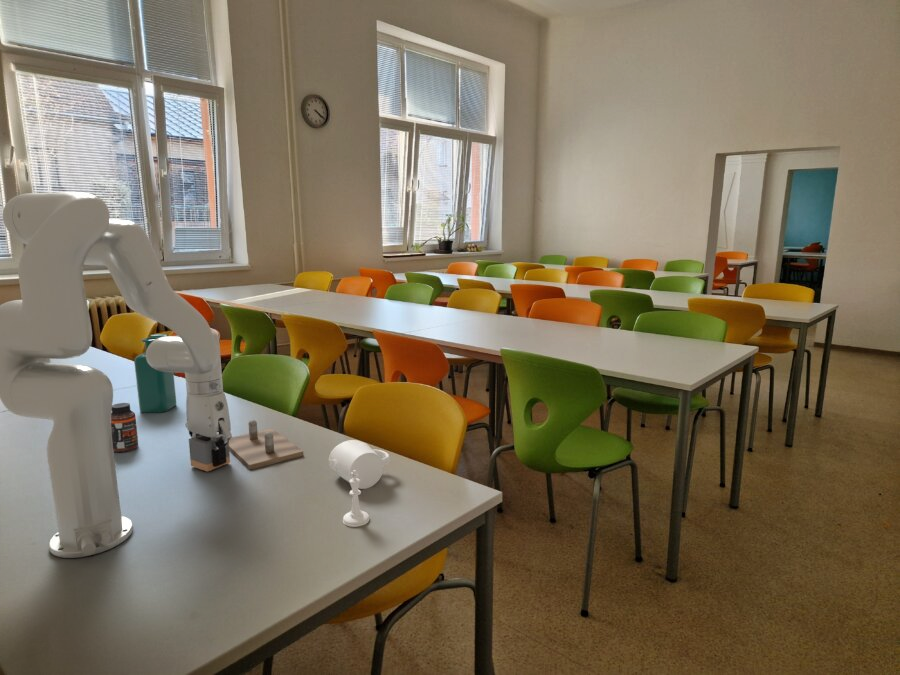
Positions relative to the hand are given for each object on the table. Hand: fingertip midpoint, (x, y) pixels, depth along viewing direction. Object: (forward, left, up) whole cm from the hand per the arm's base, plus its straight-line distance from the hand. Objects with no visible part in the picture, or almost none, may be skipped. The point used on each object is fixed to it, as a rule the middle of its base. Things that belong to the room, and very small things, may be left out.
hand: (210, 460), depth 132 cm
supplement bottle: (+24, +14, -1) cm, 28 cm away
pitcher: (+54, 0, -1) cm, 54 cm away
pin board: (+2, -13, -1) cm, 13 cm away
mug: (-28, -24, -1) cm, 37 cm away
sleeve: (0, 0, -1) cm, 1 cm away
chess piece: (-43, -14, -1) cm, 45 cm away
